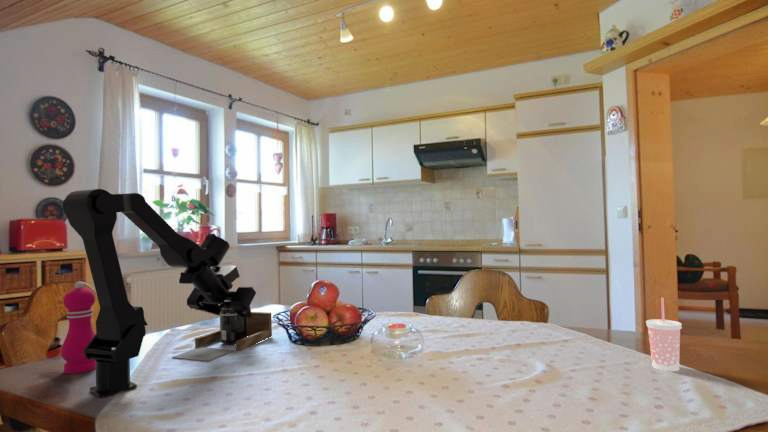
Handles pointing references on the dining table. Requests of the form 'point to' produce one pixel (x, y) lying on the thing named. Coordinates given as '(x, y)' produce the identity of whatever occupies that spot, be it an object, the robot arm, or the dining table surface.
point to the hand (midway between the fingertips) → (236, 315)
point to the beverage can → (231, 324)
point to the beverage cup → (664, 342)
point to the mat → (203, 354)
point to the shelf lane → (256, 332)
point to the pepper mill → (78, 330)
